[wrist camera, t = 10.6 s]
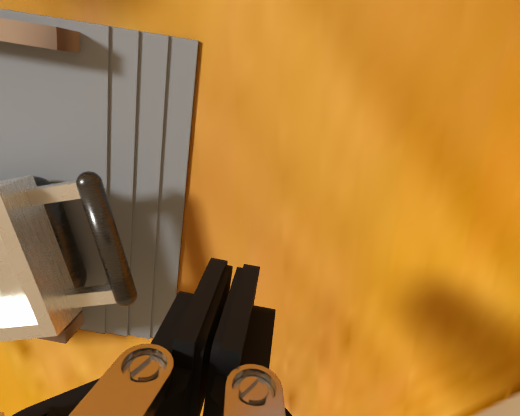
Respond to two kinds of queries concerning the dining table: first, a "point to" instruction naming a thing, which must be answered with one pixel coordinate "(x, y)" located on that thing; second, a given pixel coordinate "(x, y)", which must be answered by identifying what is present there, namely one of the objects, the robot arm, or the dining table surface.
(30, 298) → the trolley
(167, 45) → the dock
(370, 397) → the dining table surface
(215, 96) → the dining table surface
